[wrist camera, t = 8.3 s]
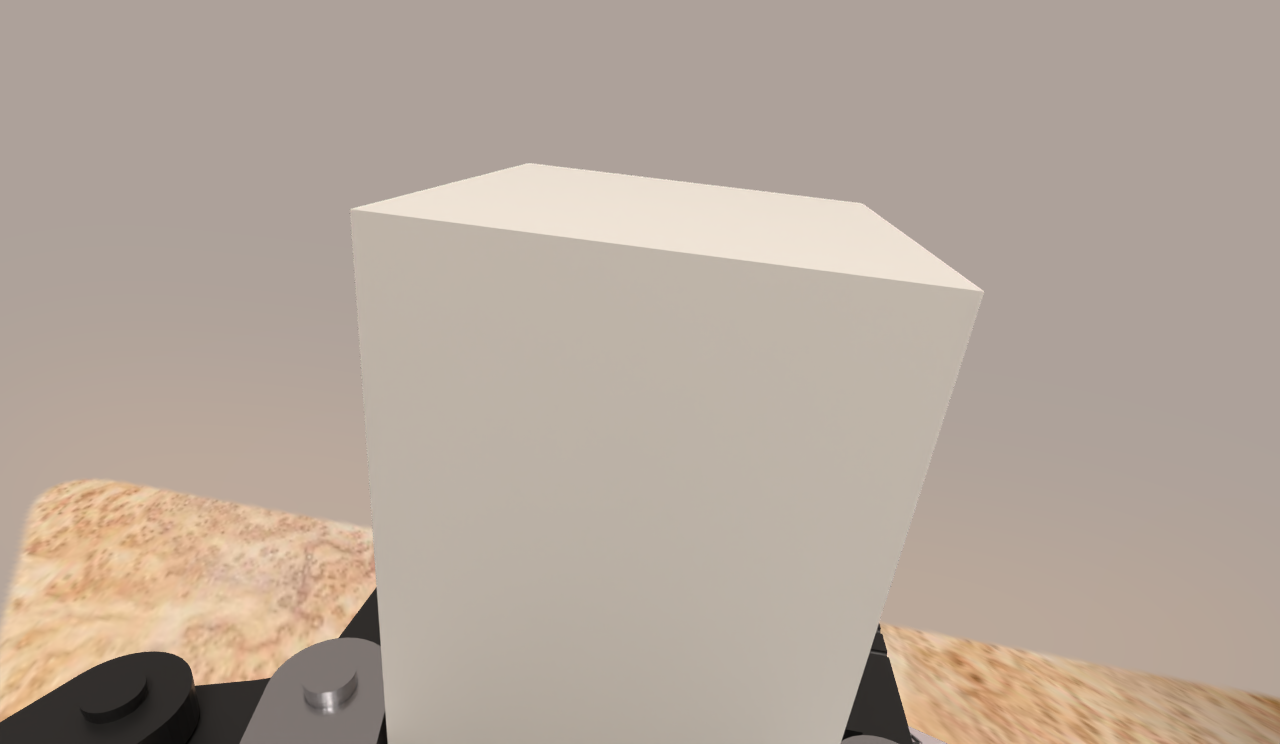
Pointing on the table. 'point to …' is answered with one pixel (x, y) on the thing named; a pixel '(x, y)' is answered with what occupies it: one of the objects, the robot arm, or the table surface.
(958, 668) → the table surface
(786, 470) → the white pillar on base
